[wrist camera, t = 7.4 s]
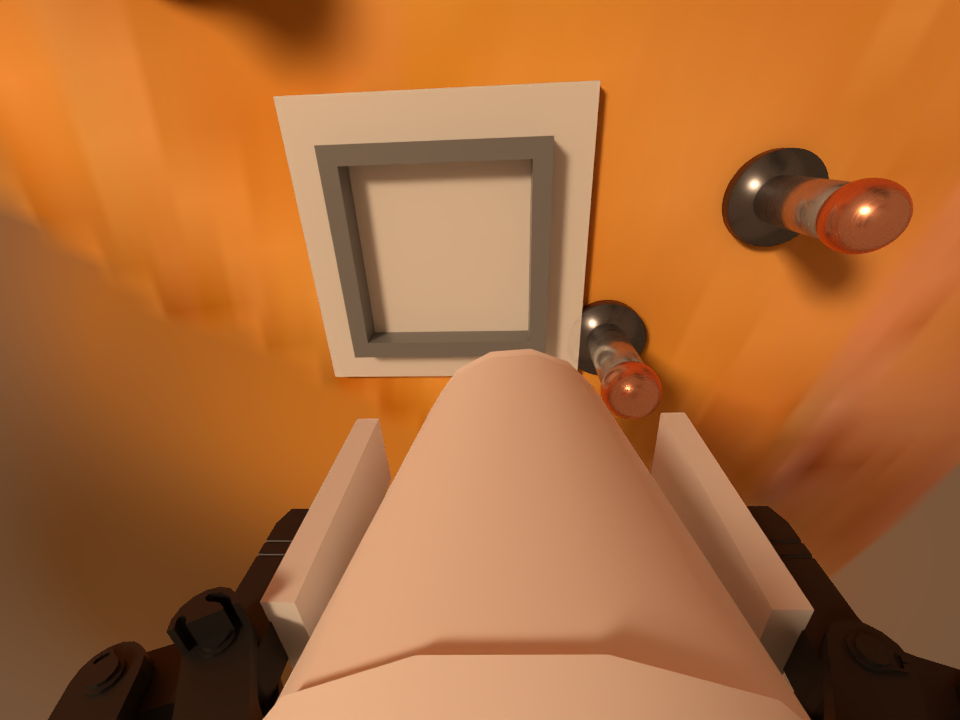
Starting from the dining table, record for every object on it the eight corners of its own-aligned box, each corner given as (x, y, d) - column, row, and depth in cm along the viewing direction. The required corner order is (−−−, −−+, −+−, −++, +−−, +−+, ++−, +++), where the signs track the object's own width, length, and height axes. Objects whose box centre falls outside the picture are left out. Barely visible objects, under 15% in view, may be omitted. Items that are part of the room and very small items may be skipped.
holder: (280, 97, 27) (256, 93, 24) (597, 82, 26) (607, 75, 23) (339, 371, 36) (326, 389, 34) (575, 369, 35) (580, 388, 32)
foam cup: (370, 471, 18) (122, 1083, 6) (432, 268, 14) (22, 991, 2) (577, 533, 19) (690, 1155, 7) (694, 362, 15) (1401, 1194, 3)
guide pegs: (549, 336, 34) (565, 406, 25) (788, 125, 26) (932, 116, 17) (598, 382, 35) (629, 462, 26) (835, 195, 28) (989, 220, 19)
